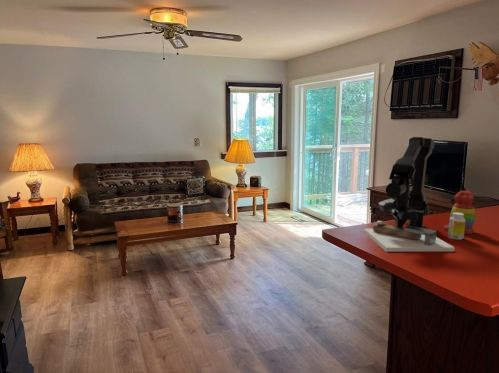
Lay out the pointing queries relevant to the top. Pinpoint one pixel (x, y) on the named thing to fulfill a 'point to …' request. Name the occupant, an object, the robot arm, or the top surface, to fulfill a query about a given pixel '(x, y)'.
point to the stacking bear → (464, 210)
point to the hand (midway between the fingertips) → (398, 230)
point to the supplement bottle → (456, 226)
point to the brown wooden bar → (395, 231)
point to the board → (405, 242)
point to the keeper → (423, 233)
